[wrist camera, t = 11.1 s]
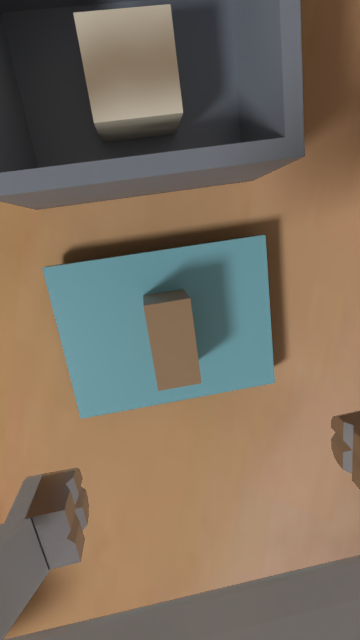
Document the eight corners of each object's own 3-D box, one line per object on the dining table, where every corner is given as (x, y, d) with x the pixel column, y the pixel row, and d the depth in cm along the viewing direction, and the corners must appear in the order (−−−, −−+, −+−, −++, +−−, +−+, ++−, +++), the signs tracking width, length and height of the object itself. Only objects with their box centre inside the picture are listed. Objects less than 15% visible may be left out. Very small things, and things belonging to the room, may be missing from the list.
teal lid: (50, 265, 24) (24, 274, 19) (256, 234, 25) (286, 235, 20) (84, 405, 27) (71, 446, 22) (265, 372, 29) (294, 404, 23)
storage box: (-14, 5, 20) (-113, -141, 12) (239, -17, 21) (296, -161, 13) (36, 209, 23) (-16, 197, 15) (252, 180, 24) (304, 156, 17)
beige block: (85, 54, 20) (73, 12, 16) (164, 46, 20) (170, 3, 17) (102, 142, 21) (93, 123, 18) (175, 133, 22) (183, 112, 18)
